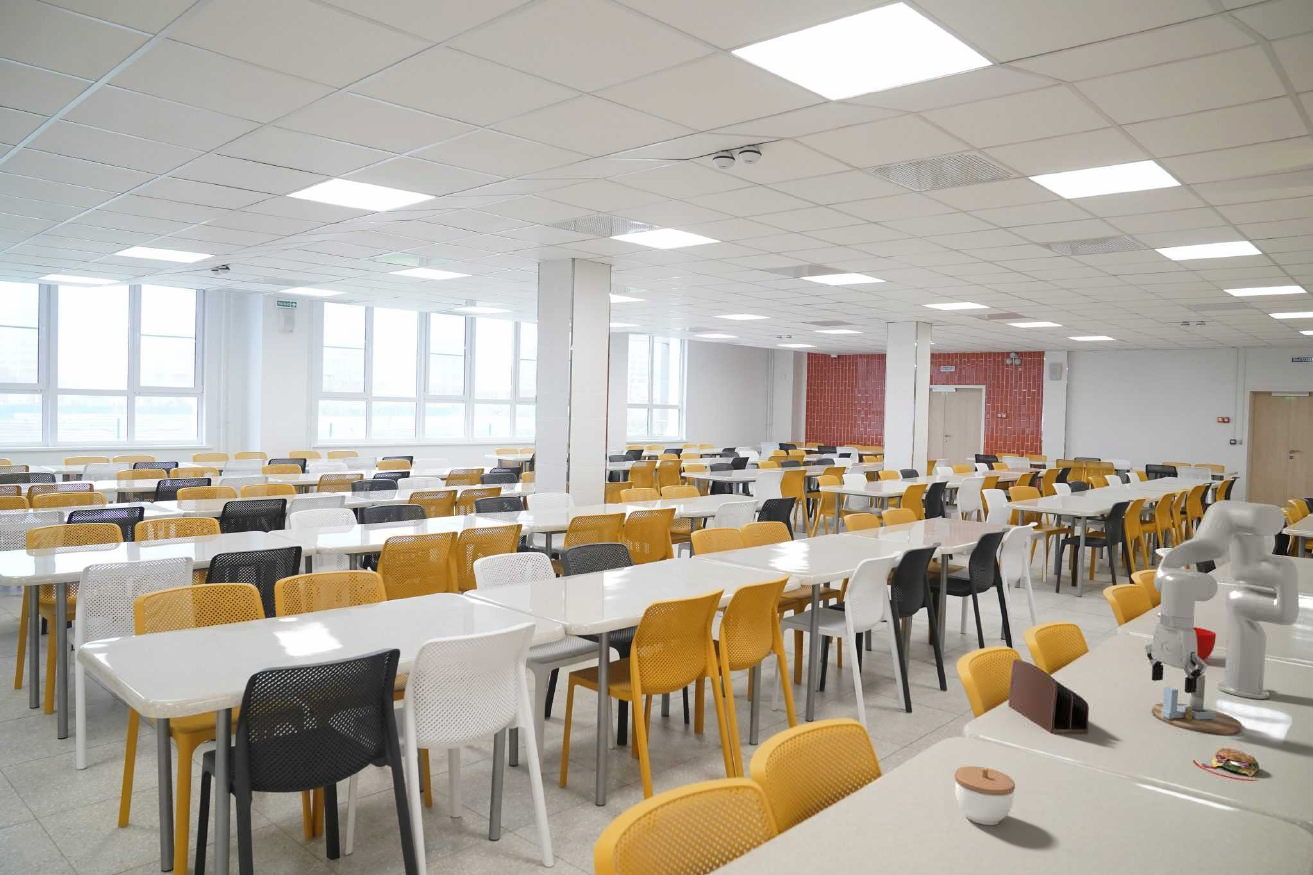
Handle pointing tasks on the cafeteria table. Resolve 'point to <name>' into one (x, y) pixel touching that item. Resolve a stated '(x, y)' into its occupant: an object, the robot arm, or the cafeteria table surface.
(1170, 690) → the blue square ring handle
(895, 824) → the cafeteria table surface
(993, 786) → the lidded jar
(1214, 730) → the post base
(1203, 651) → the red bowl
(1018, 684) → the letter holder
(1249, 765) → the hamburger
